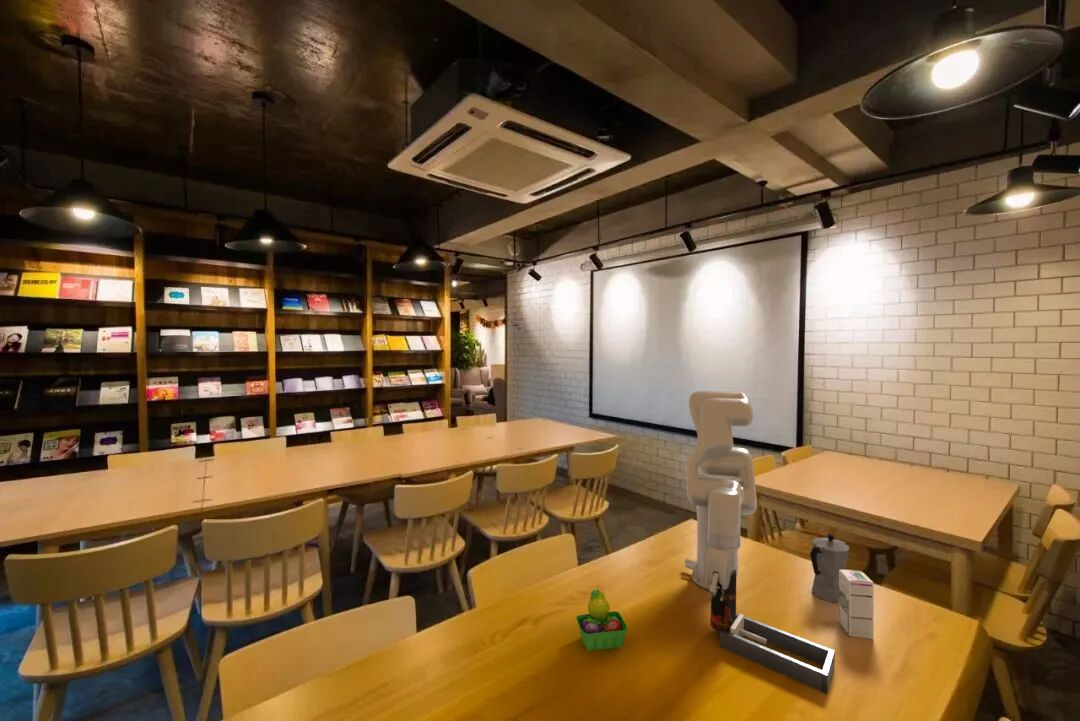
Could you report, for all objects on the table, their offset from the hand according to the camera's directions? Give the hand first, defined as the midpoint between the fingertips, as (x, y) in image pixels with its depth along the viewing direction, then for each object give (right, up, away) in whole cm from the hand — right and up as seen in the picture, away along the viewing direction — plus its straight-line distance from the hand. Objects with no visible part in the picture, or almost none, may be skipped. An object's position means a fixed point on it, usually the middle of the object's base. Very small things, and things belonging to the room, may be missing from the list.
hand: (723, 607), depth 110 cm
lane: (+9, -7, -8) cm, 14 cm away
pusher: (+5, -7, -4) cm, 9 cm away
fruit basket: (-31, -7, -2) cm, 32 cm away
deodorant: (0, -5, 0) cm, 5 cm away
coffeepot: (+38, -7, +17) cm, 42 cm away
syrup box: (+35, -7, +2) cm, 35 cm away
